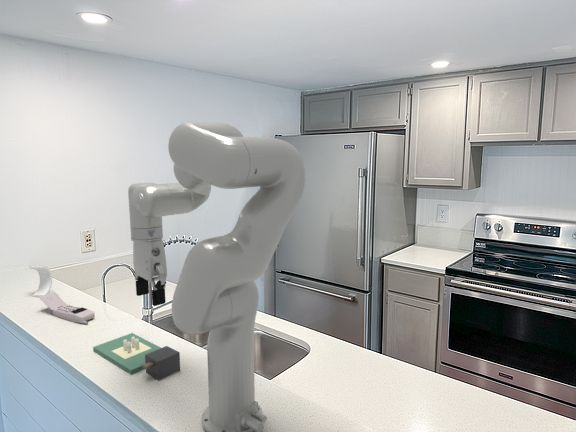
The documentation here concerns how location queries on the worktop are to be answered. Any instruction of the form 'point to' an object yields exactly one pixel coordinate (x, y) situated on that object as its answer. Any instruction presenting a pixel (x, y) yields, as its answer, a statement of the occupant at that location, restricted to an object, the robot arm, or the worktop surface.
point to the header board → (126, 352)
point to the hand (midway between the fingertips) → (150, 299)
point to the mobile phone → (67, 309)
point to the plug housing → (162, 362)
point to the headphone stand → (43, 281)
